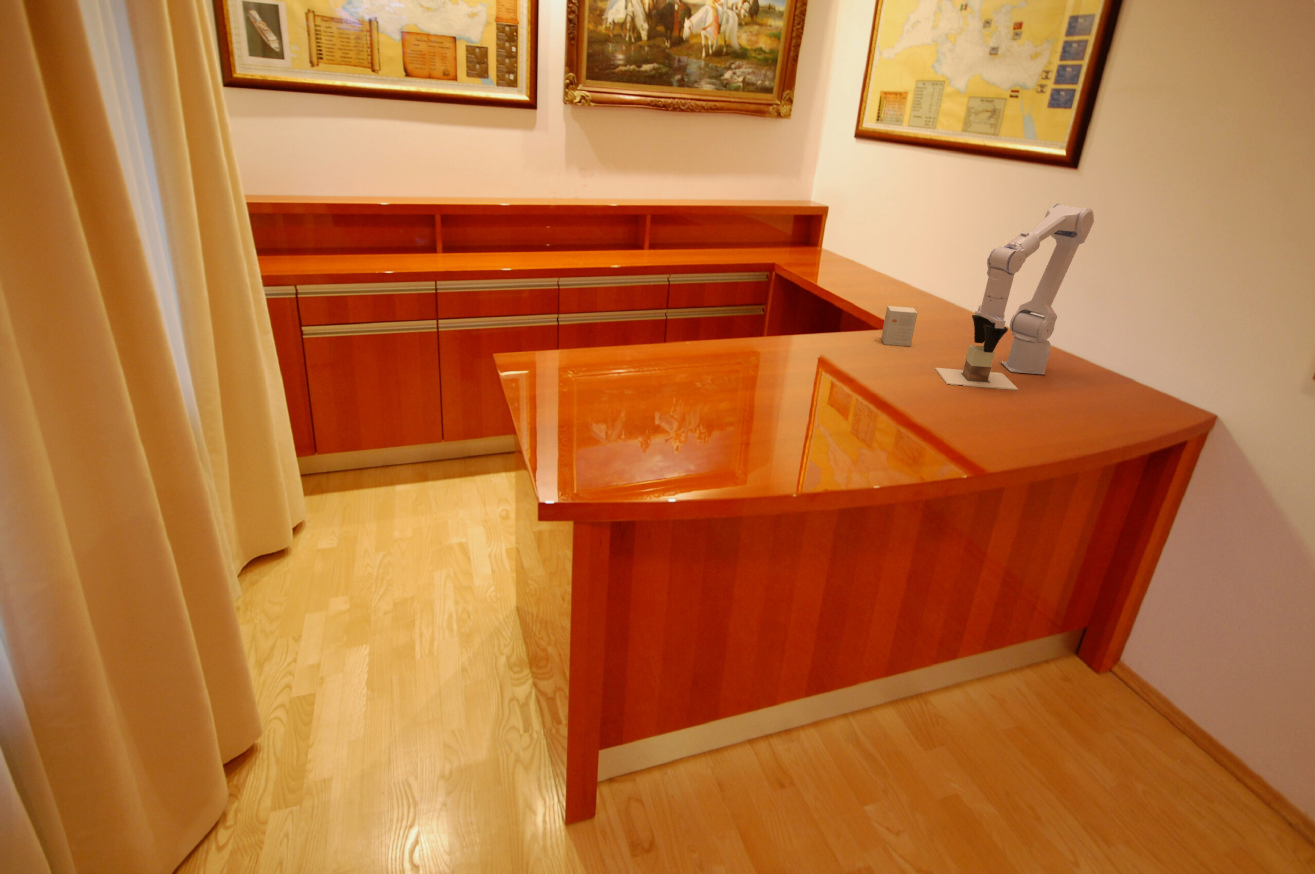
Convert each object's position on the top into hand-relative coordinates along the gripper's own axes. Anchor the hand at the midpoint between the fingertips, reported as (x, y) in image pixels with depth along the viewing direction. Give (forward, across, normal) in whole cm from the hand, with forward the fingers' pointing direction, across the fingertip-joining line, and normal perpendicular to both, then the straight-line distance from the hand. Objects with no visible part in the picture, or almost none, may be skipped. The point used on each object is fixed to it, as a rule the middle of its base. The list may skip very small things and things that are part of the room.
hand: (983, 347), depth 194 cm
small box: (+9, -28, -15) cm, 33 cm away
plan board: (+9, 0, 0) cm, 9 cm away
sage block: (+4, 0, 0) cm, 4 cm away
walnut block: (+8, 0, 0) cm, 8 cm away
